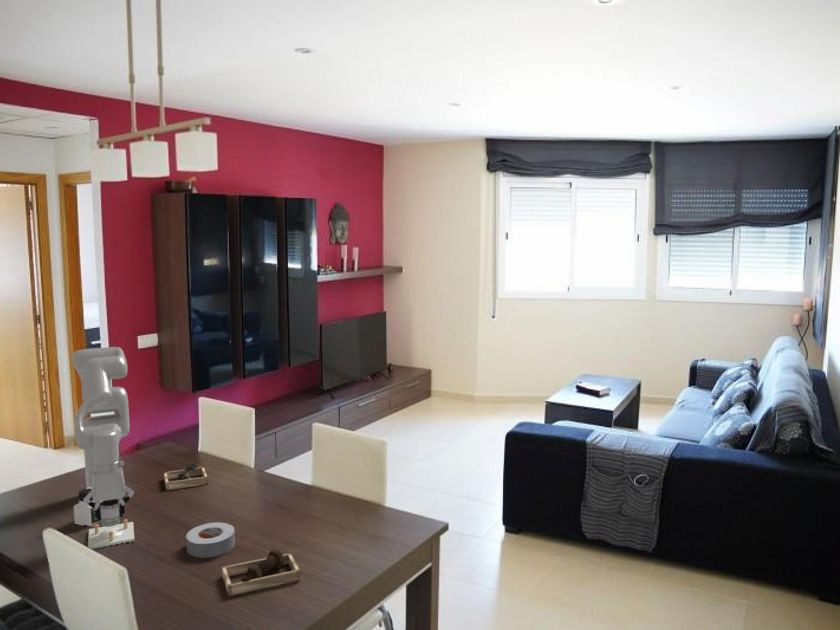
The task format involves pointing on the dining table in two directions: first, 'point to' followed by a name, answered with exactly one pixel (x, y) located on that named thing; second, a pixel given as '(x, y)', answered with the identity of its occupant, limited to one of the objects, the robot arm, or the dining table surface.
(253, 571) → the bolt
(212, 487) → the dining table surface
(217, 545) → the tape roll
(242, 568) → the bolt frame
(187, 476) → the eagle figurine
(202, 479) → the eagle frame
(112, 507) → the camera lens
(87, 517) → the medicine bottle
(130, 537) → the pin board
